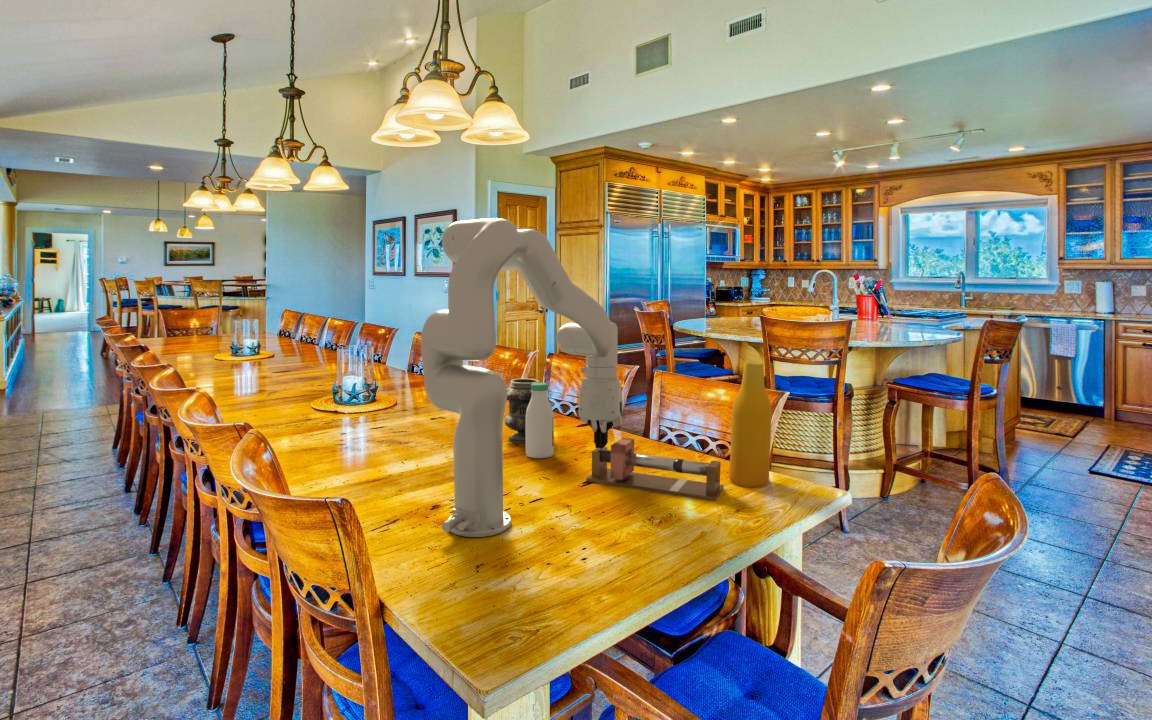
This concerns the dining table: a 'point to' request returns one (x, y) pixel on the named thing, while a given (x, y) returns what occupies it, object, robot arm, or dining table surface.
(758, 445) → the beer bottle
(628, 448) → the collar
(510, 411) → the apothecary jar
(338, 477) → the dining table surface
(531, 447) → the milk bottle
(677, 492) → the pipe rig
